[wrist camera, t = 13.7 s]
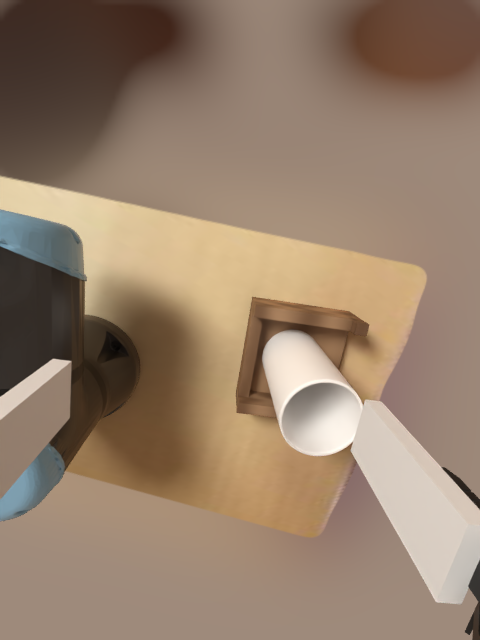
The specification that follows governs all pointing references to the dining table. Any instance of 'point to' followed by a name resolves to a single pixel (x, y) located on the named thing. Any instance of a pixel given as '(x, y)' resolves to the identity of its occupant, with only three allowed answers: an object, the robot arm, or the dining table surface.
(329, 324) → the tray
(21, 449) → the robot arm
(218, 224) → the dining table surface
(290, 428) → the cup
